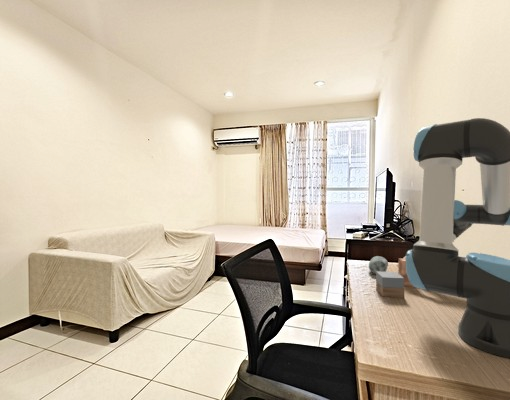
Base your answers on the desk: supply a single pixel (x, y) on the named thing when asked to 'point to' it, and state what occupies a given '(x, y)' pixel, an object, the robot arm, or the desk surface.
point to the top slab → (390, 279)
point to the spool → (378, 264)
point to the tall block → (403, 271)
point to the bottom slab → (390, 291)
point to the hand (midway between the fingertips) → (404, 271)
